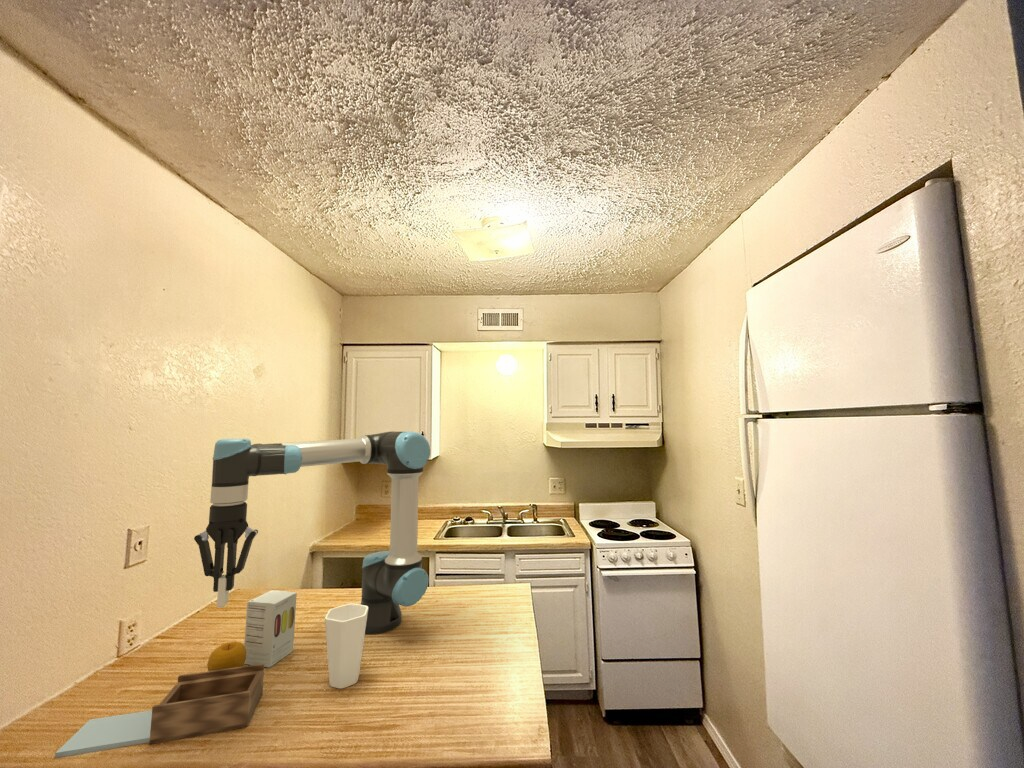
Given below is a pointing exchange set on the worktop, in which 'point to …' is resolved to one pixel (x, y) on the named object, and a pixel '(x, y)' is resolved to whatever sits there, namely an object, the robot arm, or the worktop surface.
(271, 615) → the supplement box
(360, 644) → the cup
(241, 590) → the worktop surface
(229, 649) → the apple
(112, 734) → the cover plate
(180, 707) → the box
